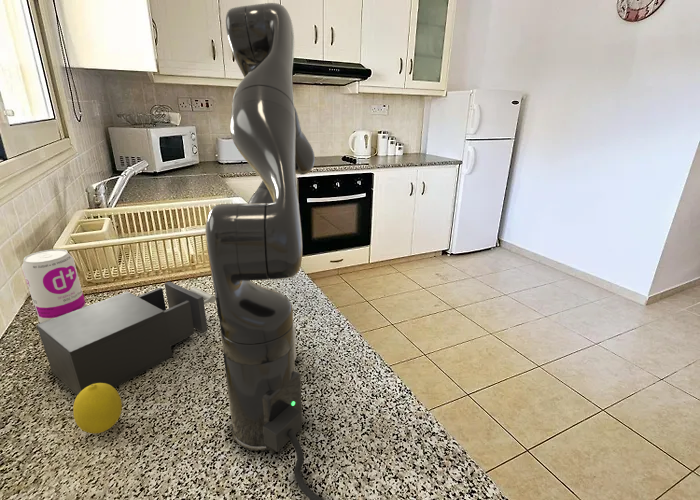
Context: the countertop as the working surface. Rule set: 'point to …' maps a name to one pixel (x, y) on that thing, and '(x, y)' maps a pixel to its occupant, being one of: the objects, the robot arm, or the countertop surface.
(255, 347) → the robot arm
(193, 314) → the fryer drawer
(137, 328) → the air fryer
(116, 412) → the lemon
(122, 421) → the countertop surface
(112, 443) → the countertop surface
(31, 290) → the supplement can
